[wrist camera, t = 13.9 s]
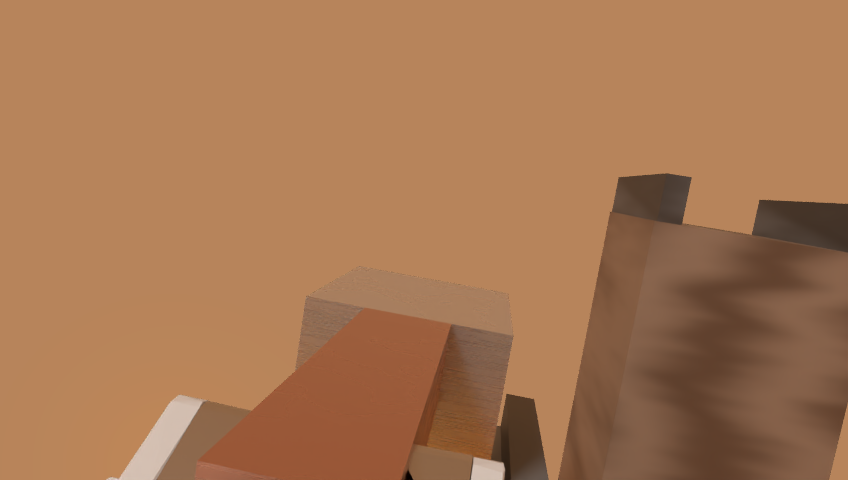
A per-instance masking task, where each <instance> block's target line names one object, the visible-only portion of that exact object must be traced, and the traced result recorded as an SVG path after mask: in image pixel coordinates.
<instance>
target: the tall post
mask: <svg viewBox="0 0 848 480" xmlns="http://www.w3.org/2000/svg"><path fill="white" fill-rule="evenodd" d="M690 182H691V177H686V176H679V175H673V174H655V175H642V176H630V177H619V179H618V184H617V189H616V195H615V200H614V205H613V210H612V212H610V216H609V221H608V226H607V231H606V237H605V242H604V247H603V253H602V257H601V263H600V267H599V273H598V278H597V283H596V288H595V293H594V298H593V303H592V308H591V314H590V319H589V324H588V329H587V334H586V339H585V345H584V349H583V355H582V360H581V365H580V370H579V375H578V380H577V385H576V391H575V396H574V401H573V406H572V411H571V417H570V421H569V426H568V431H567V437H566V442H565V447H564V452H563V457H562V462H561V467H560V472H559V478H558V480H829V477H830V473H831V469H832V465H833V460H834V457H835V453H836V449H837V444H838V440H839V436H840V432H841V428H842V424H843V419H844V416H845V411H846V407H847V403H848V204H836V203H815V202H793V201H773V200H772V201H771V200H759V205H758V210H757V214H756V218H755V223H754V228H753V232H752V235H749V234H743V233H736V232H730V231H724V230H719V229H713V228H706V227H701V226H695V225H689V224H683V223H682V221H683V216H684V211H685V207H686V201H687V196H688V192H689V187H690Z"/></svg>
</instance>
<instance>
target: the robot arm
mask: <svg viewBox="0 0 848 480" xmlns="http://www.w3.org/2000/svg"><path fill="white" fill-rule="evenodd" d="M250 412H251V411H250V410H246V409H242V408H237V407H233V406H228V405H224V404H219V403H215V402H210V401H208V400H203V399H198V398H193V397H189V396H184V395H178V396H177V397H176V398H175V399H173V400H172V401H171V402H170V403H169V405H168V406H167V408H166V409H165V411H164V412H163V414H162V415H161V417H160V418H159V419H158V421H157V423H156V424H155V426H154V427H153V429H152V430H151V431H150V433H149V435H148V436H147V437H146V439H145V441H144V442H143V443H142V445H141V446H140V448H139V449H138V451H137V452H136V454H135V456H134V457H133V459H132V460H131V462H130V463H129V464H128V466H127V468H126V469H125V471H124V472H123V473H122V475H121V476H120V478H114V477H110V478H108V479H106V480H195V474H196V466H197V460H198V459H200V458H201V457H202V456H203V455H204V454H205V453H206V452H207V451H208V450H209V449H211V448H212V447H213V446H214V445H215V444H216V443H217V442H218V441H219V440H220V439H222V438H223V437H224V436H225V435H226V434H227V433H228V432H229V431H230V430H231V429H232V428H234V427H235V426H236V425H237V424H238V423H239V422H240V421H241V420H242V419H243V418H245V417H246V416H247V415H248V414H249V413H250ZM472 457H473V456H472V455H467V454H462V453H457V452H452V451H447V450H441V449H436V448H431V447H426V446H421V445H414V448H413V451H412V455H411V459H410V463H409V467H408V474H407V480H504V477H505V467H504V463H503V462H498V461H493V460H487V459H482V458H477V457H473V458H472Z"/></svg>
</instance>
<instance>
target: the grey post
mask: <svg viewBox="0 0 848 480" xmlns="http://www.w3.org/2000/svg"><path fill="white" fill-rule="evenodd" d="M491 460H493V461H498V462H503V463H504V467H505V477H504V480H548V474H547V469H546V463H545V458H544V452H543V447H542V441H541V436H540V431H539V425H538V420H537V414H536V408H535V402H534V399H530V398H525V397H520V396H515V395H509V394H507V395H506V400H505V406H504V411H503V417H502V422H501V426H497V427H496V433H495V438H494V443H493V449H492V454H491Z"/></svg>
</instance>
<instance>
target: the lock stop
mask: <svg viewBox="0 0 848 480" xmlns="http://www.w3.org/2000/svg"><path fill="white" fill-rule="evenodd" d="M512 340H513V329H512V321H511V313H510V305H509V297H508V293H503V292H498V291H492V290H487V289H481V288H476V287H470V286H465V285H459V284H454V283H448V282H443V281H437V280H432V279H426V278H421V277H415V276H410V275H404V274H399V273H394V272H388V271H382V270H377V269H372V268H366V267H360V266H359V267H357V268H355V269H354V270H352V271H350V272H348V273H347V274H345V275H343V276H341V277H340V278H338V279H336V280H334V281H332V282H331V283H329V284H327V285H325V286H324V287H322V288H320V289H318V290H317V291H315V292H313V293H311V294H310V295H308V296H306V301H305V308H304V315H303V321H302V329H301V335H300V342H299V348H298V355H297V362H296V369H295V372H294V373H293V374H292V375H291V376H290V377H289V378H287V379H286V380H285V381H284V382H283V383H282V384H281V385H280V386H279V387H277V388H276V389H275V390H274V391H273V392H272V393H271V394H270V395H269V396H268V397H267V398H265V399H264V400H263V401H262V402H261V403H260V404H259V405H258V406H257V407H256V408H255V409H254V410H252V411H251V412H250V413H249V414H248V415H247V416H246V417H245V418H243V419H242V420H241V421H240V422H239V423H238V424H237V425H236V426H235V427H234V428H232V429H231V430H230V431H229V432H228V433H227V434H226V435H225V436H224V437H223V438H222V439H220V440H219V441H218V442H217V443H216V444H215V445H214V446H213V447H212V448H211V449H209V450H208V451H207V452H206V453H205V454H204V455H203V456H202V457H201V458H200V459H198V460H197V466H196V474H195V480H407V474H408V467H409V463H410V459H411V455H412V451H413V448H414V445H421V446H426V447H431V448H436V449H441V450H447V451H452V452H457V453H462V454H467V455H472V456H473V457H477V458H482V459H487V460H491V454H492V449H493V443H494V438H495V433H496V427H497V422H498V415H499V411H500V405H501V400H502V394H503V389H504V384H505V378H506V373H507V367H508V362H509V356H510V351H511V345H512ZM473 457H472V458H473Z"/></svg>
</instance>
